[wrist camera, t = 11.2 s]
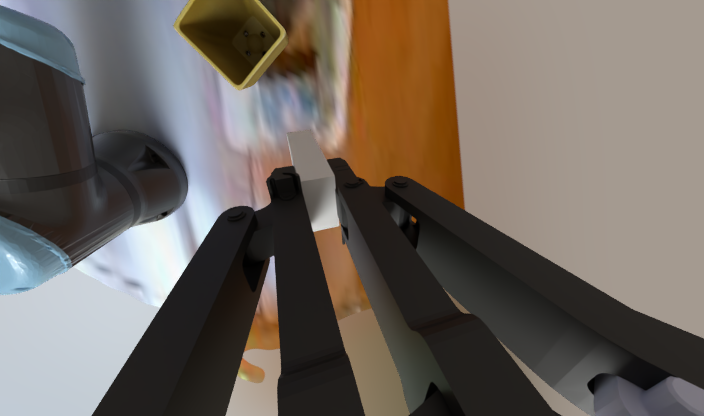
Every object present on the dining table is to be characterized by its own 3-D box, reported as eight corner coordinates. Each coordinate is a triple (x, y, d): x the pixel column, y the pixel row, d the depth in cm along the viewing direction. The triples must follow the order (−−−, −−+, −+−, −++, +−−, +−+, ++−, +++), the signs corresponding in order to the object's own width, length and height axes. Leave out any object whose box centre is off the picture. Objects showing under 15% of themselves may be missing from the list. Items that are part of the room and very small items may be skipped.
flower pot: (209, 41, 35) (169, 26, 27) (248, -13, 32) (218, -48, 24) (260, 92, 38) (238, 92, 29) (299, 46, 35) (288, 32, 27)
